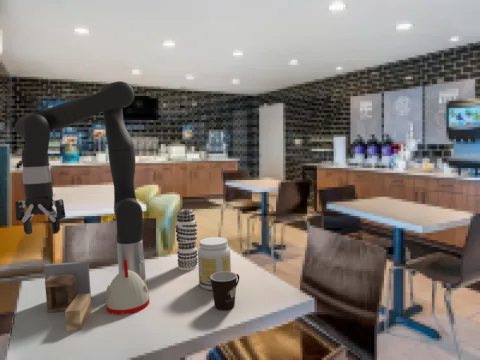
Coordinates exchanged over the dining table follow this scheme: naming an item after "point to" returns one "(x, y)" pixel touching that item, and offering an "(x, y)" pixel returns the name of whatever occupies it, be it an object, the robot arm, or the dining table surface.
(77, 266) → the wall
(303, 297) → the dining table surface
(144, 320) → the dining table surface
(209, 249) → the supplement tub
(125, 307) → the cream dome
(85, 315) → the tan wooden bar
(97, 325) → the dining table surface
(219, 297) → the coffee mug
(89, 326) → the dining table surface
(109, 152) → the robot arm
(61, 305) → the block
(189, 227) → the decorative candle
